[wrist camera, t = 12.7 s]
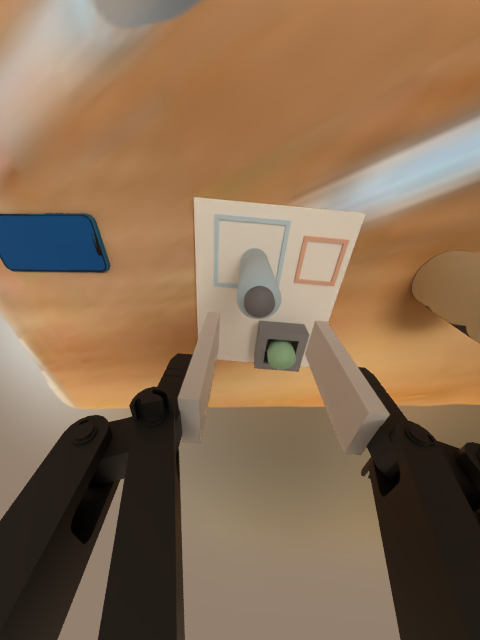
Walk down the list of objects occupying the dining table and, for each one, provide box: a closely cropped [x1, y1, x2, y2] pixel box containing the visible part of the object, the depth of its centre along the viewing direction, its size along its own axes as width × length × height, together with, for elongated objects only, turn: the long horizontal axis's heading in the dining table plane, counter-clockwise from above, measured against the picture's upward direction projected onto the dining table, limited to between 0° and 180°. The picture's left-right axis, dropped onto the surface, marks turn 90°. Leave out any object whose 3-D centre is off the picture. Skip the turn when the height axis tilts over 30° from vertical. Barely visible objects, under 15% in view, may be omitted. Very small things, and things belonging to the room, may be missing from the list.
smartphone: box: [0, 213, 110, 272], centre depth 27 cm, size 7×1×15 cm
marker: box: [237, 248, 282, 319], centre depth 21 cm, size 4×4×13 cm
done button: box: [266, 339, 296, 370], centre depth 30 cm, size 4×4×3 cm
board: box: [194, 197, 366, 372], centre depth 29 cm, size 24×20×4 cm
